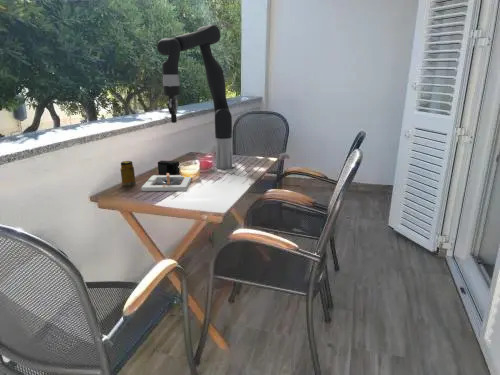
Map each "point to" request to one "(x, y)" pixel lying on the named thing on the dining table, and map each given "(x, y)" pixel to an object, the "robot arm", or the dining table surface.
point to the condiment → (127, 173)
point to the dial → (168, 181)
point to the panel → (151, 187)
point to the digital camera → (168, 167)
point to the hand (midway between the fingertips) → (174, 122)
